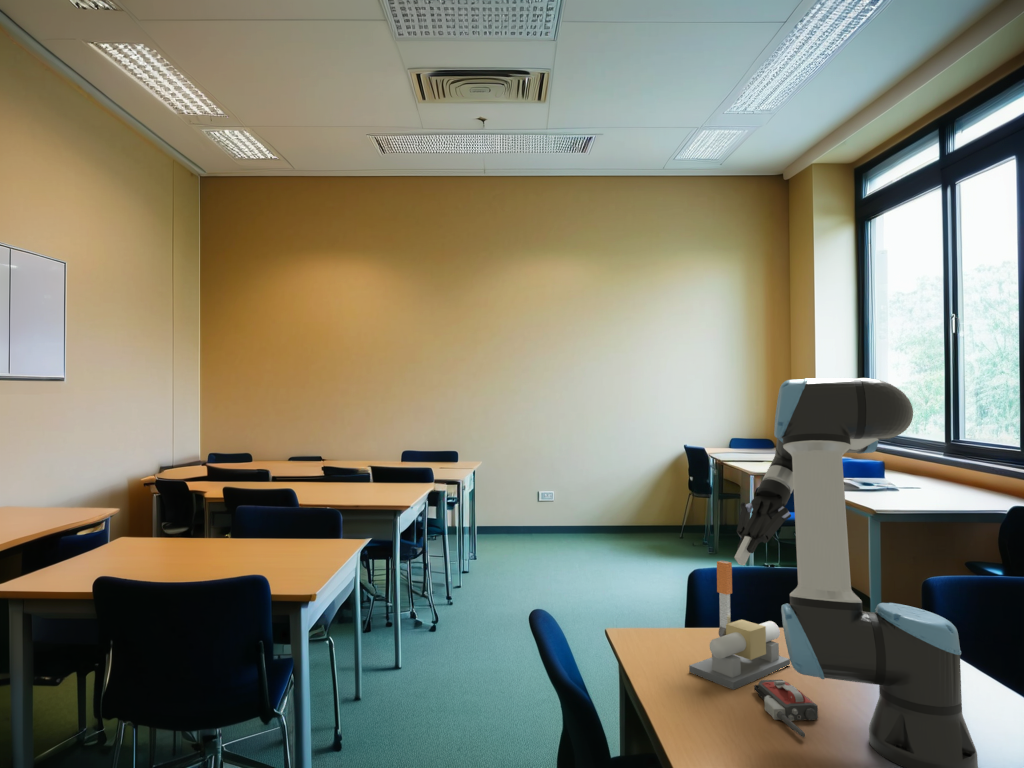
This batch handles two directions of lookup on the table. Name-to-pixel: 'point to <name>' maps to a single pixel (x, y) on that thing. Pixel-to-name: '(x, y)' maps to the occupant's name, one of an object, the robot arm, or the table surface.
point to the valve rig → (742, 654)
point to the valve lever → (724, 593)
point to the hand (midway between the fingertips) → (739, 561)
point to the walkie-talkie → (786, 703)
